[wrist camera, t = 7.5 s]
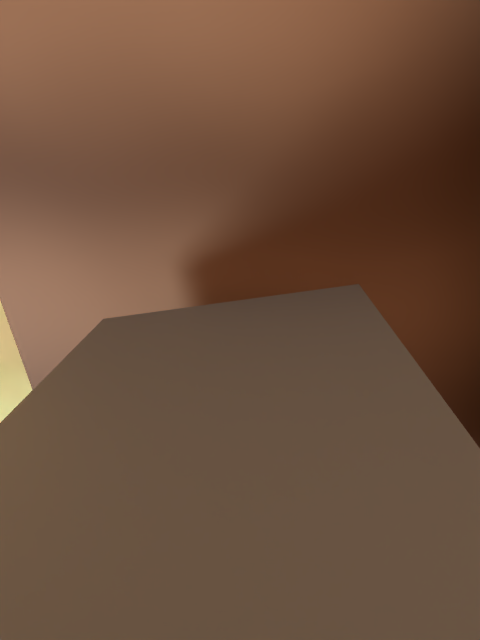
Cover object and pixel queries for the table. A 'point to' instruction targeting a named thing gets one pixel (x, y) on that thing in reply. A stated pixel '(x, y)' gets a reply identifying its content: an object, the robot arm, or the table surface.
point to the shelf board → (242, 166)
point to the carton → (240, 483)
